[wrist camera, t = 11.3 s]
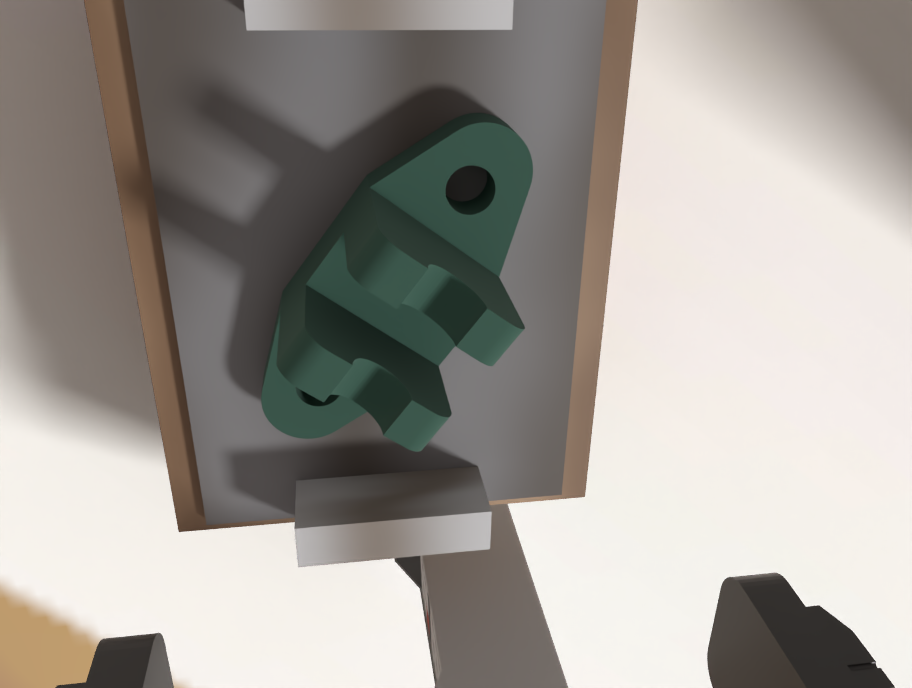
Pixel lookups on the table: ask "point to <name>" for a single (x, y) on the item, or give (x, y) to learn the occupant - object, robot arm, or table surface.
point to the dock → (315, 208)
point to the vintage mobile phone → (485, 615)
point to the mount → (401, 290)
